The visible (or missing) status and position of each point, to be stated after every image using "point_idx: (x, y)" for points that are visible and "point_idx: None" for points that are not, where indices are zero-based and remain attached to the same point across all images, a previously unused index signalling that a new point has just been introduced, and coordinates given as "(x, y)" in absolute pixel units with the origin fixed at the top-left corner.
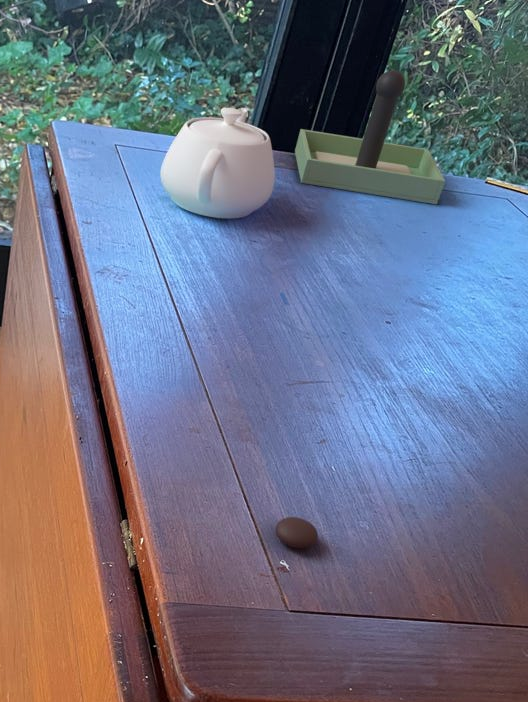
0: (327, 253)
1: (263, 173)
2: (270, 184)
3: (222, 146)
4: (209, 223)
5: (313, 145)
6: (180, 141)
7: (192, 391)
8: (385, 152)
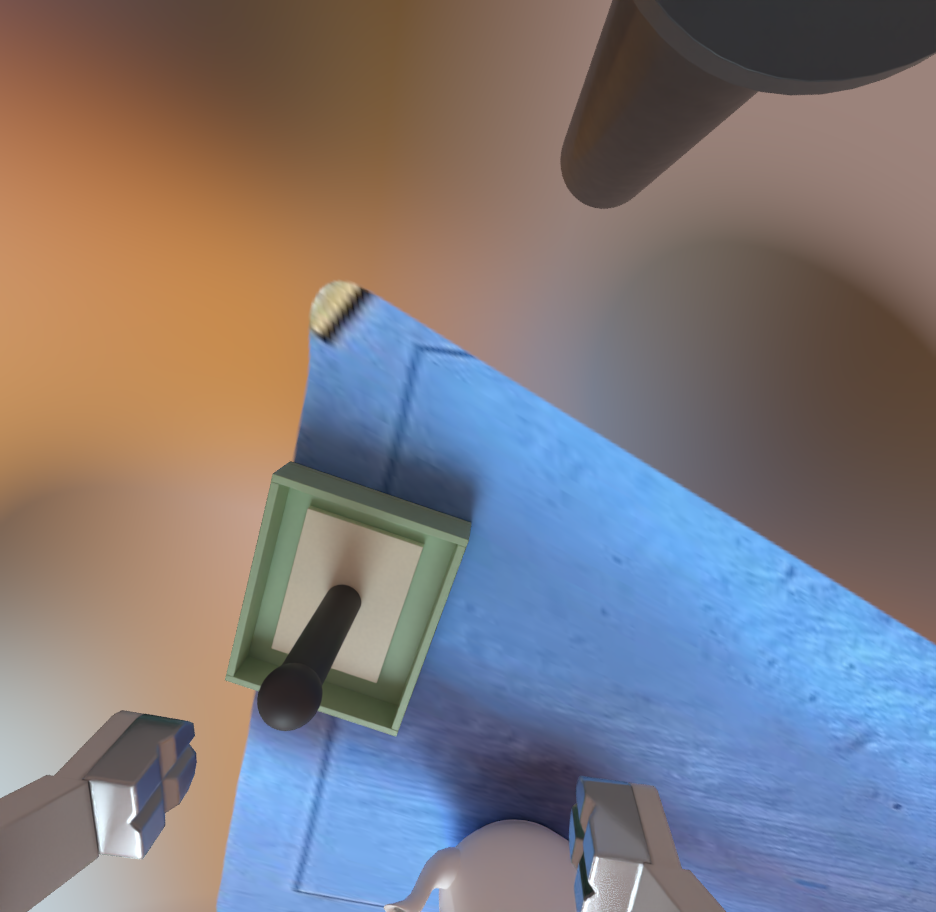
0: (681, 784)
1: None
2: (575, 870)
3: None
4: None
5: (247, 645)
6: None
7: None
8: (270, 541)
